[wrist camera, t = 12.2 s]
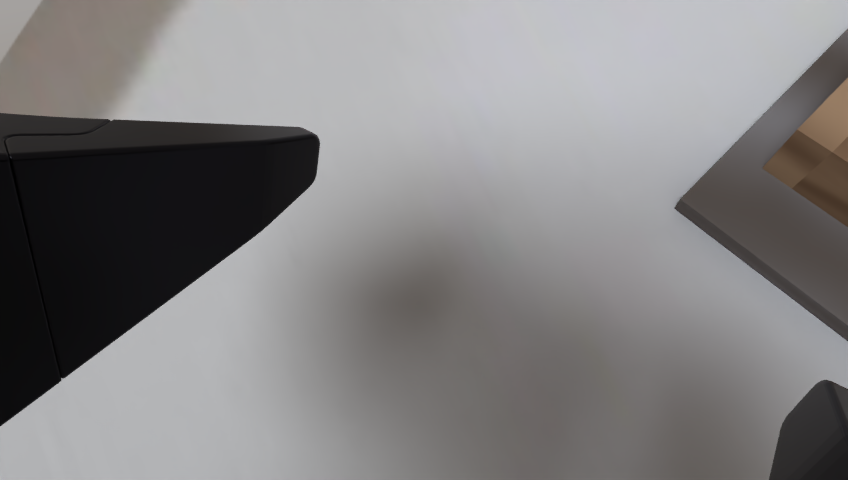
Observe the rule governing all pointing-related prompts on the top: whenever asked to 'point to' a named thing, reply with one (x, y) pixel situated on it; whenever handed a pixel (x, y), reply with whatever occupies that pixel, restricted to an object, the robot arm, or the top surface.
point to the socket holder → (789, 192)
